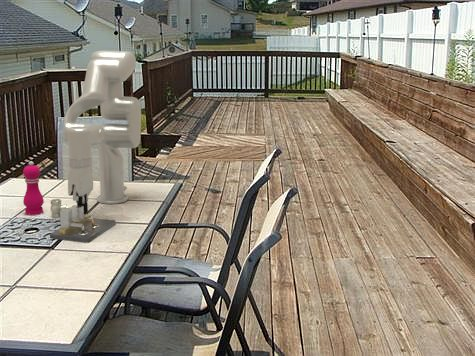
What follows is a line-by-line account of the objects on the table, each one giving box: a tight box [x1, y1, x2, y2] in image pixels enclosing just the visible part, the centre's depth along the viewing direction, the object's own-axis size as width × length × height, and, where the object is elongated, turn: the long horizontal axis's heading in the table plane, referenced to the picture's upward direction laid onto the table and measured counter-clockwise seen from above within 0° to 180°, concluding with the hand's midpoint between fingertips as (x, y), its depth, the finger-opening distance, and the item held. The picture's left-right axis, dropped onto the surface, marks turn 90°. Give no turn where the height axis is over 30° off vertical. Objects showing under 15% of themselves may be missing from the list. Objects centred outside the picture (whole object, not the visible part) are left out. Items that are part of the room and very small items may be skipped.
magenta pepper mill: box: [22, 160, 45, 216], centre depth 216 cm, size 7×7×20 cm
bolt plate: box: [49, 209, 116, 244], centre depth 199 cm, size 20×14×9 cm
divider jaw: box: [69, 204, 94, 226], centre depth 200 cm, size 3×8×6 cm, turn 76°
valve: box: [50, 198, 72, 219], centre depth 214 cm, size 7×7×12 cm
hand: (82, 213), depth 204 cm, fingers closed
